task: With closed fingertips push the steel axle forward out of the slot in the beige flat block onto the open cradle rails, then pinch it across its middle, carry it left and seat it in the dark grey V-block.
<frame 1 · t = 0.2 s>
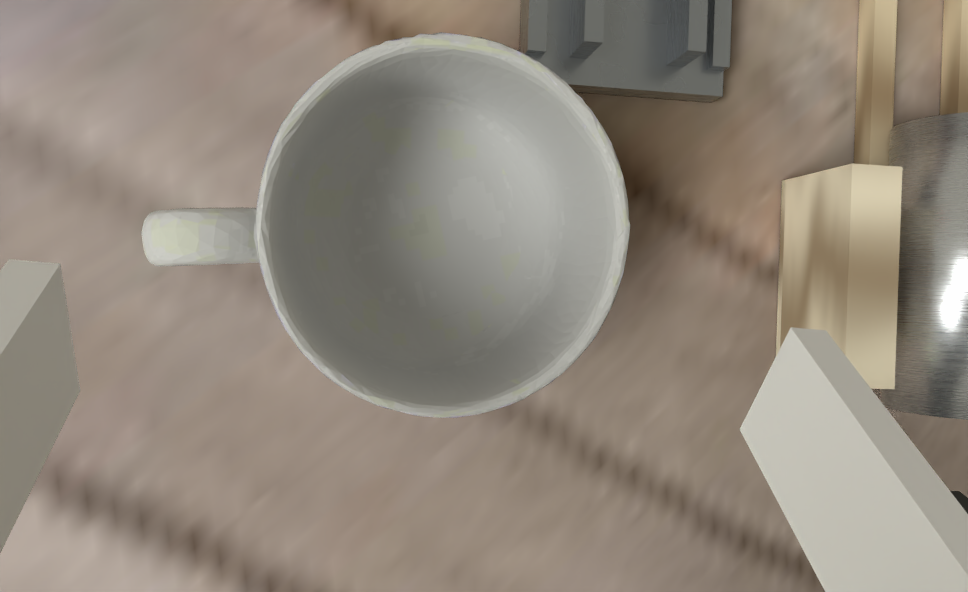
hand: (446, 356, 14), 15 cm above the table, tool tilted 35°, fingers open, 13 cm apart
teacup: (383, 236, 29), on the table
axle: (911, 269, 32), resting on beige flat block
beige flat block: (908, 117, 32), on the table
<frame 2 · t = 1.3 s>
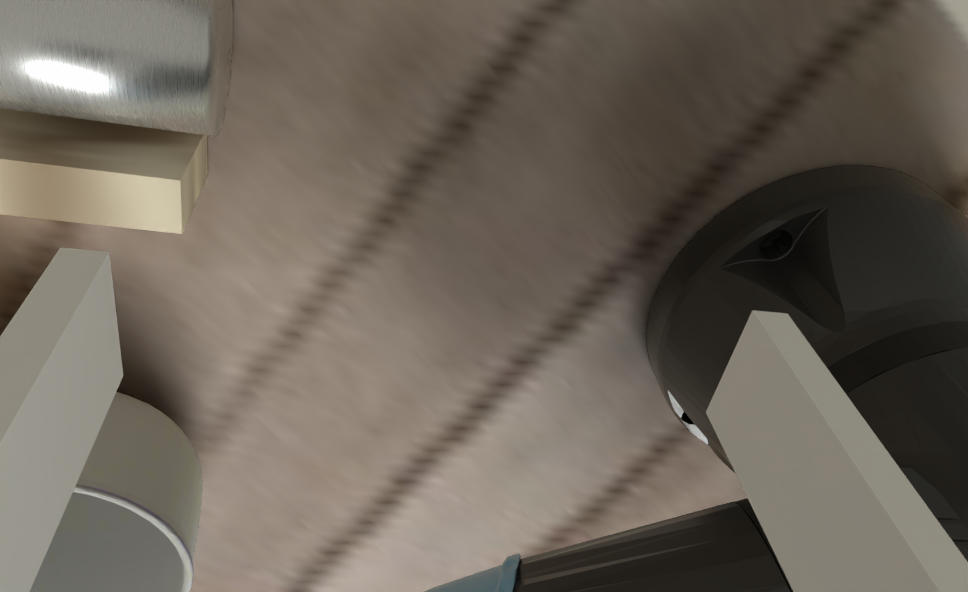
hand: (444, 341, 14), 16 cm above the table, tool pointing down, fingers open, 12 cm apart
teacup: (106, 457, 37), on the table
axle: (58, 5, 25), resting on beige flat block
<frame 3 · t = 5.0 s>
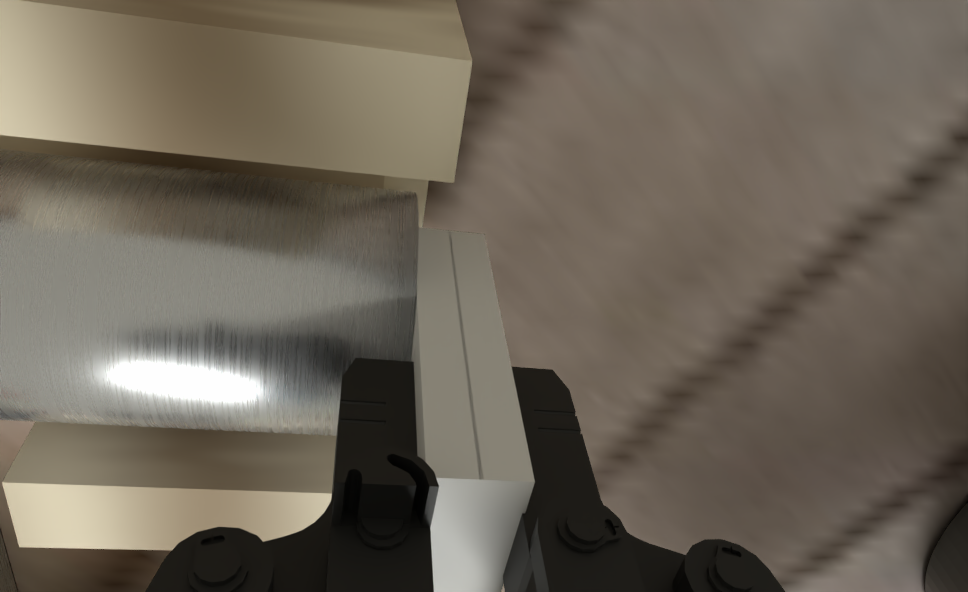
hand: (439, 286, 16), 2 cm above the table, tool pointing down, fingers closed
axle: (151, 224, 17), point 1 cm above the table, touching gripper
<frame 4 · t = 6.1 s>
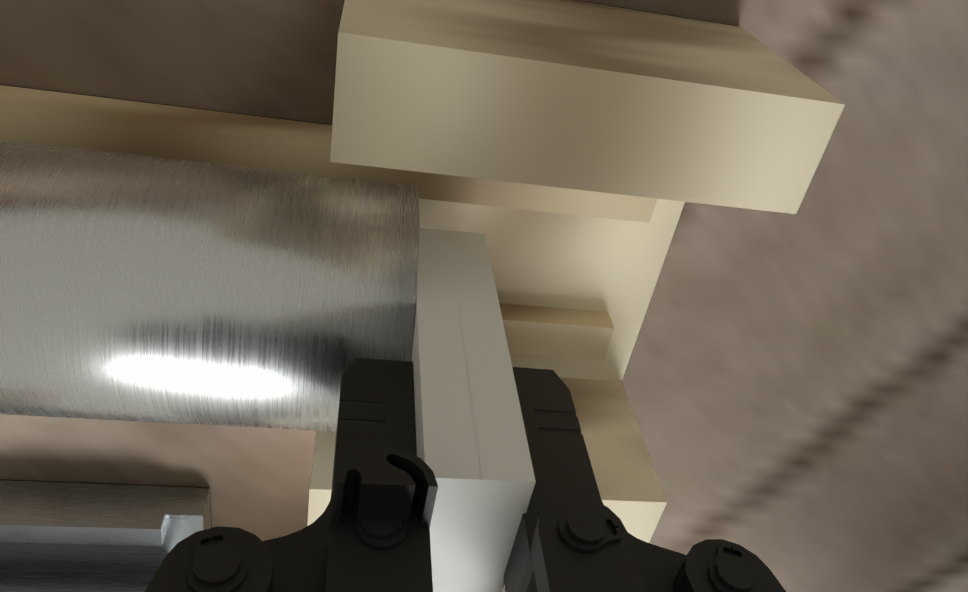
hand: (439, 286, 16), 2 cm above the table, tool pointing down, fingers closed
v block: (43, 570, 23), on the table
axle: (148, 212, 16), point 1 cm above the table, tilted 6°
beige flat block: (197, 214, 17), on the table
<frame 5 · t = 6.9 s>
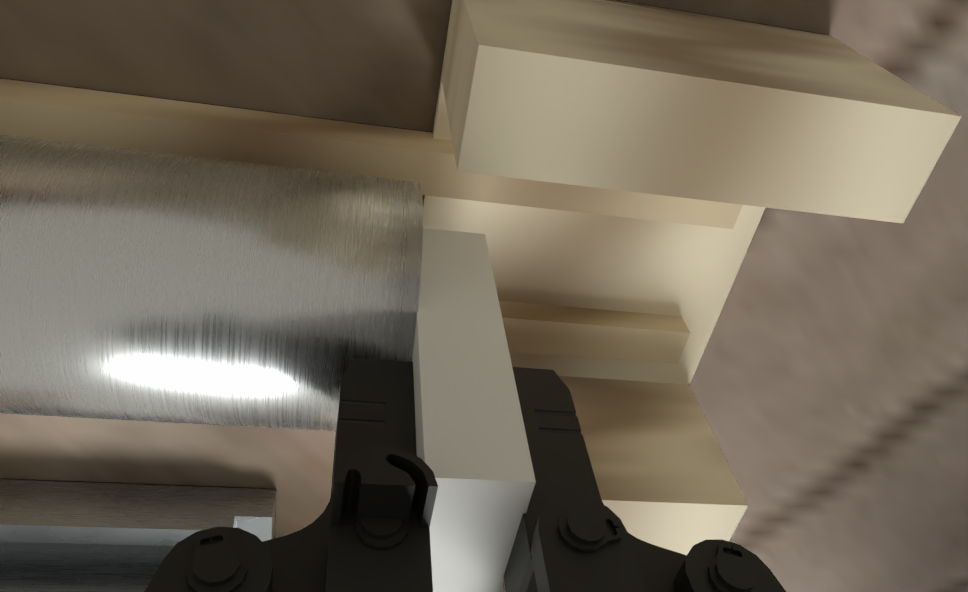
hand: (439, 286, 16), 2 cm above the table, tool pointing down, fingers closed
v block: (106, 571, 23), on the table
axle: (145, 205, 16), point 1 cm above the table, tilted 7°, touching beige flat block, gripper
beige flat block: (285, 219, 17), on the table
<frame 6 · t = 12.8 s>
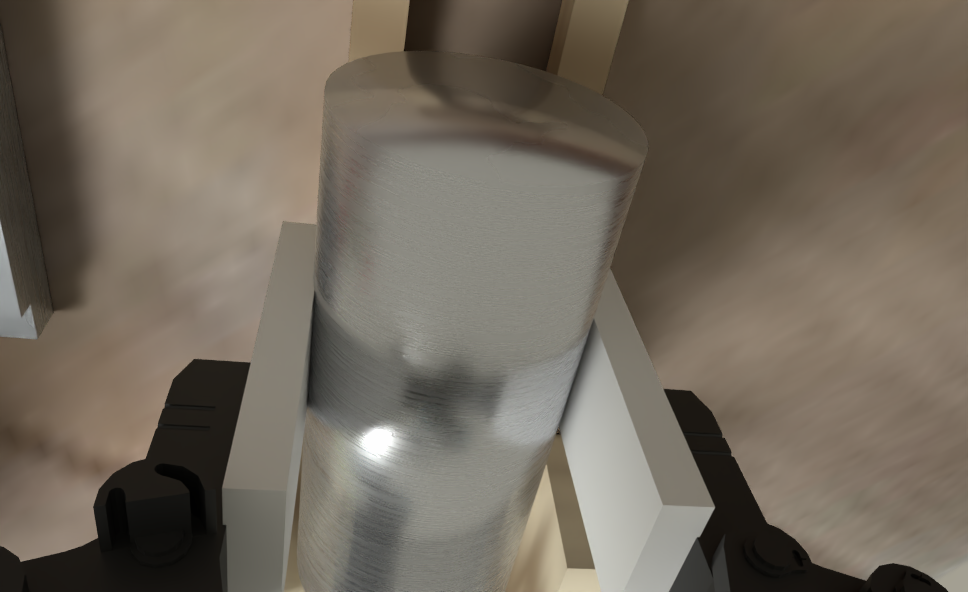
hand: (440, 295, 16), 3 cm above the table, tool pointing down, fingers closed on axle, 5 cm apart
axle: (441, 300, 17), point 2 cm above the table, touching gripper
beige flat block: (426, 343, 20), on the table
when the fingers open (2 cm above the table, at t = 16.5 s): axle stays where it is, resting on v block.
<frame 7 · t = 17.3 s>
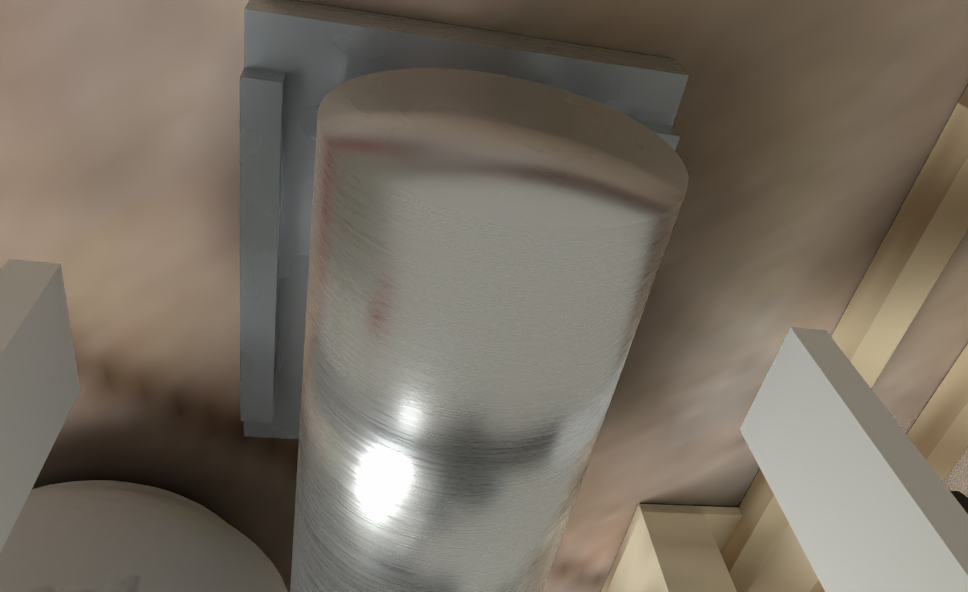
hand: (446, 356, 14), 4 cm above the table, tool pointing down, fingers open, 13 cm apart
v block: (436, 253, 17), on the table
teacup: (68, 546, 22), on the table
axle: (451, 340, 15), point 2 cm above the table, tilted 6°, touching v block
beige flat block: (854, 442, 22), on the table
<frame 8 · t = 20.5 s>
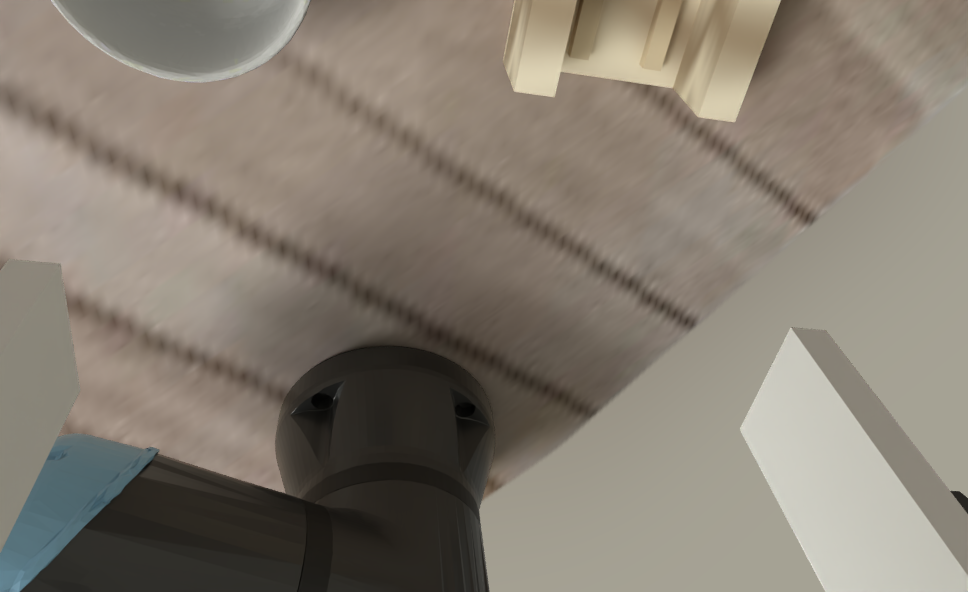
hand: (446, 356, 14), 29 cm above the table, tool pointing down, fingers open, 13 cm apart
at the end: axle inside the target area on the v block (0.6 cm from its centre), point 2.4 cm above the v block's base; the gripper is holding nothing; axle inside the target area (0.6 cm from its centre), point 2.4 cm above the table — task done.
